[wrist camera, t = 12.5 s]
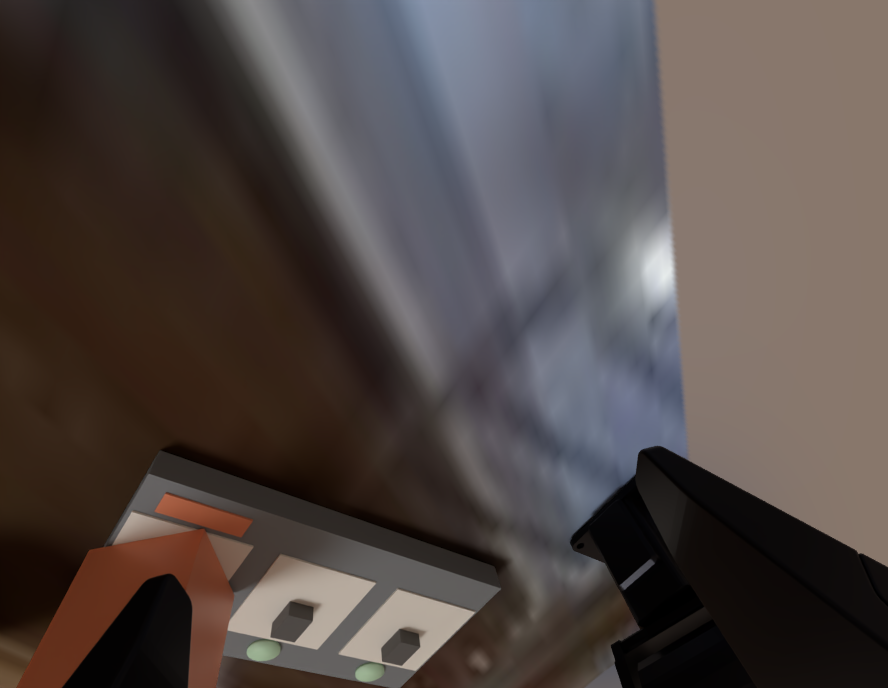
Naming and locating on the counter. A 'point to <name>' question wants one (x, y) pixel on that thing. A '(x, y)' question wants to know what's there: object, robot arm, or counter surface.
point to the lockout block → (112, 586)
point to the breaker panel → (312, 575)
